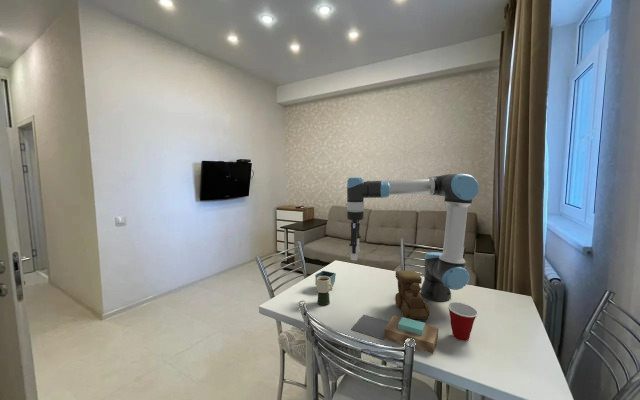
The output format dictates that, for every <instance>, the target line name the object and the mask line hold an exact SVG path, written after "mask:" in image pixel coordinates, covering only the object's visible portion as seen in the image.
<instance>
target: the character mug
mask: <svg viewBox="0 0 640 400" xmlns="http://www.w3.org/2000/svg"><path fill="white" fill-rule="evenodd" d="M314 282H315V287H316V288H315V289H316V291H317V292H318V294H317V301H316V302H317V304H318V305H320V306H325V305H328V304H330V292H331V291H333V287H332V284H331V279H330V277H328V276H319V277H317V279H316V278H315V279H314Z"/></svg>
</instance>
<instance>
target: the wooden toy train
mask: <svg viewBox="0 0 640 400" xmlns="http://www.w3.org/2000/svg"><path fill="white" fill-rule="evenodd" d="M395 278H396V280H397V290H398V292H396V294H395V299H394V301H395V305H396V307H397V309H401V315H402V317H404V318H408V319H412V320H416V319H417V320H419V319H420V320H422V319H423V320H428V319H429V318H430V315H431V313H430V312H431V311H430V308H429V304H427V303H426V302H425V299H424V297H423V296H422V295H421V287H422V286H420V285H422V283H423V280H422V276H421V275H420V274H419V273H418V272H417V271H414V270H397V271H395Z"/></svg>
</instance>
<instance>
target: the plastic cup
mask: <svg viewBox="0 0 640 400" xmlns="http://www.w3.org/2000/svg"><path fill="white" fill-rule="evenodd" d="M447 309H448V312H449V318H450V319H449V321H450V326H451V333H452V337H455V338H454V339H457V340H458V341H461V340H463V341H462V342H466V340H467V341H469V339H470V337H471V333H472V329H473V327H474V322H475V319H476V318H477V316H478V315H479V312H478V310H477V309H476V308H474V307H473V306H471V305H470V304H466V303H463V302H457V301H452V302H451V301H450V302H449V303H447Z"/></svg>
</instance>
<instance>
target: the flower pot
mask: <svg viewBox="0 0 640 400" xmlns="http://www.w3.org/2000/svg"><path fill="white" fill-rule="evenodd" d="M336 275H337V274H336V272H331V271H327V270H321V271H320V272H318V273H316V274H315V280H316V279H317V277H319V276H328V277H330V279H331V284H332V288H333V287H334V285H335V281H336Z"/></svg>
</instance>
